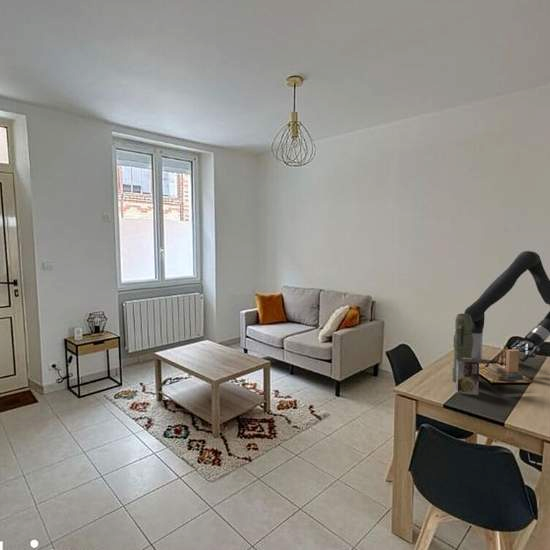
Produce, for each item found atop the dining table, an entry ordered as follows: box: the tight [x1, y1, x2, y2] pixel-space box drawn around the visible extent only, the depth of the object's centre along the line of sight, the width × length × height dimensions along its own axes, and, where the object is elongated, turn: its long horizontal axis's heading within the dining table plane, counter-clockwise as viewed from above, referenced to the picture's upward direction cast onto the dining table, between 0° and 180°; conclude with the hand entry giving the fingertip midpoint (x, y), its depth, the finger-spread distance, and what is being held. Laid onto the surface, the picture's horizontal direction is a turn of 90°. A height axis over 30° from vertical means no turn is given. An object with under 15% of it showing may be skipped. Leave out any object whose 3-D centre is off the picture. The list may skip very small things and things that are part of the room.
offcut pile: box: [486, 362, 509, 381], centre depth 189 cm, size 6×9×6 cm, turn 3°
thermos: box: [452, 313, 473, 383], centre depth 187 cm, size 9×12×35 cm
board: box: [505, 348, 520, 373], centre depth 189 cm, size 5×2×14 cm, turn 93°
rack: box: [484, 369, 529, 382], centre depth 190 cm, size 16×11×4 cm
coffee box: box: [455, 357, 480, 396], centre depth 174 cm, size 9×6×16 cm
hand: (515, 358), depth 189 cm, fingers open, 8 cm apart
